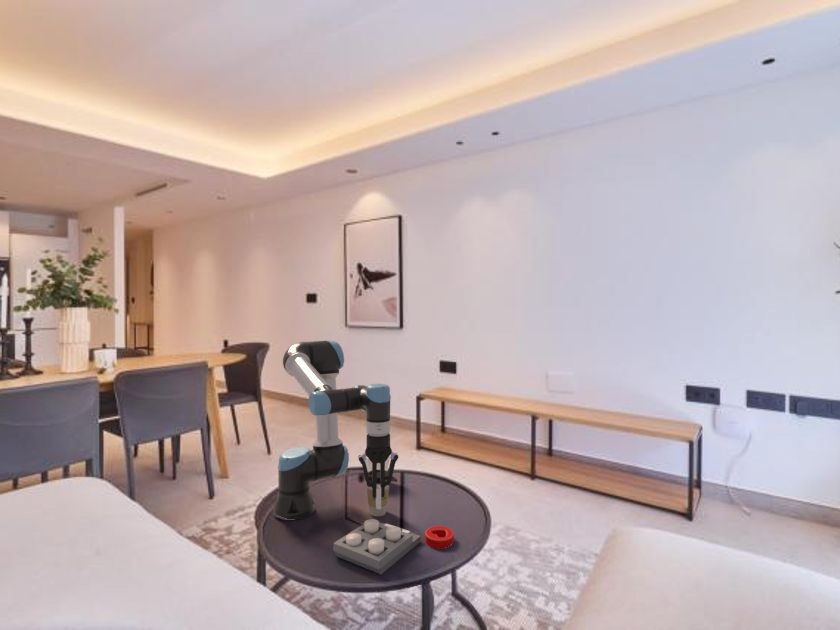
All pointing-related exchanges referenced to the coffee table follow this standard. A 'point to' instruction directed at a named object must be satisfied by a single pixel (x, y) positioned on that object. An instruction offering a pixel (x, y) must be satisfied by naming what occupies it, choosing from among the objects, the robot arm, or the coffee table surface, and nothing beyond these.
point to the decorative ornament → (439, 537)
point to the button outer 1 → (376, 546)
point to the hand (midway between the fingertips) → (378, 507)
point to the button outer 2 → (393, 534)
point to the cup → (369, 464)
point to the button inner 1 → (353, 539)
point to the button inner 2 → (371, 526)
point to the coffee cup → (373, 500)
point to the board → (374, 562)
